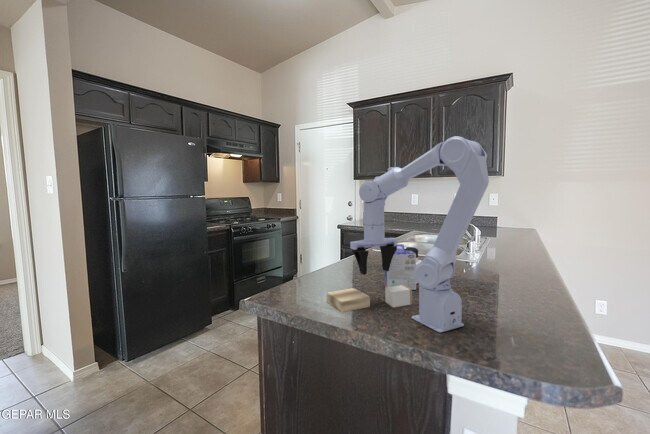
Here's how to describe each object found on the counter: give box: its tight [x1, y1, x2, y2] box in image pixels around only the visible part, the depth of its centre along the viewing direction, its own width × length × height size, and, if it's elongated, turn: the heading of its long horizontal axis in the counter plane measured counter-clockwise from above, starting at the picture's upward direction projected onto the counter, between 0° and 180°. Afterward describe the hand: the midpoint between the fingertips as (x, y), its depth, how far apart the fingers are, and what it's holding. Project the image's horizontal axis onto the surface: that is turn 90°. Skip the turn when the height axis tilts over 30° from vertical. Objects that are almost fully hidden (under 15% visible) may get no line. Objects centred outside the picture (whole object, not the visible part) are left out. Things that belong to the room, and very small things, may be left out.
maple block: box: [326, 287, 371, 313], centre depth 87 cm, size 9×9×3 cm
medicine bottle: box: [404, 246, 423, 285], centre depth 110 cm, size 7×7×12 cm
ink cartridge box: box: [384, 243, 417, 291], centre depth 102 cm, size 10×6×14 cm, turn 90°
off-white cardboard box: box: [384, 285, 413, 308], centre depth 88 cm, size 5×5×6 cm
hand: (374, 272), depth 87 cm, fingers open, 7 cm apart
